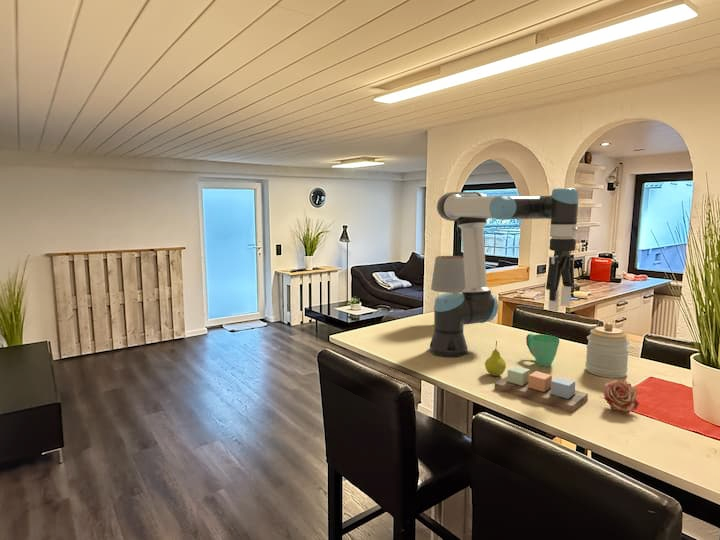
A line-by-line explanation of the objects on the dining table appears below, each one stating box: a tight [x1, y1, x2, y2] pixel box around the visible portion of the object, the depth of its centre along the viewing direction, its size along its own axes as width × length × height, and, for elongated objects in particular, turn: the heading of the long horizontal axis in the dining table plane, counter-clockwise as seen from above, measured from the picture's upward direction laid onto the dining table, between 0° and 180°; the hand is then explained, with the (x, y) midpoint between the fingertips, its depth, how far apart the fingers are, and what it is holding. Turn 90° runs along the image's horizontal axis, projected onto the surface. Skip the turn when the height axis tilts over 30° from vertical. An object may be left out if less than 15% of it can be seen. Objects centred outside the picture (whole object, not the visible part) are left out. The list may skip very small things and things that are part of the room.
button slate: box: [551, 376, 576, 400], centre depth 132 cm, size 5×5×4 cm
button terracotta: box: [528, 370, 553, 393], centre depth 137 cm, size 5×5×4 cm
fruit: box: [484, 340, 507, 377], centre depth 153 cm, size 7×7×12 cm
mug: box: [525, 333, 560, 367], centre depth 167 cm, size 15×10×10 cm
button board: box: [494, 376, 589, 413], centre depth 138 cm, size 24×12×2 cm, turn 44°
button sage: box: [506, 365, 531, 387], centre depth 142 cm, size 5×5×4 cm
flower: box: [600, 378, 640, 415], centre depth 127 cm, size 10×9×8 cm
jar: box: [585, 322, 631, 379], centre depth 155 cm, size 13×13×18 cm
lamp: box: [430, 255, 465, 294], centre depth 222 cm, size 19×19×34 cm
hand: (559, 308), depth 143 cm, fingers open, 9 cm apart
